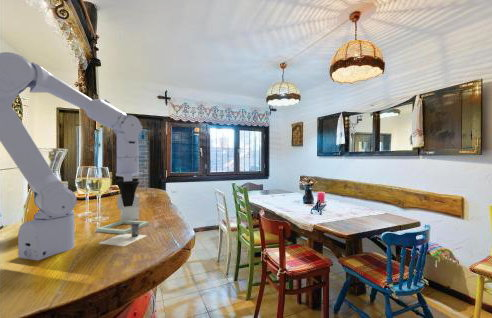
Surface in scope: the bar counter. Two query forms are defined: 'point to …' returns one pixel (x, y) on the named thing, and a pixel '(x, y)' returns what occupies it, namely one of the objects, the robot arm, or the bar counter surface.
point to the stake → (135, 229)
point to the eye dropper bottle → (130, 214)
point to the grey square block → (121, 206)
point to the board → (122, 240)
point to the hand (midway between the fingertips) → (128, 204)
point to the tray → (118, 231)
